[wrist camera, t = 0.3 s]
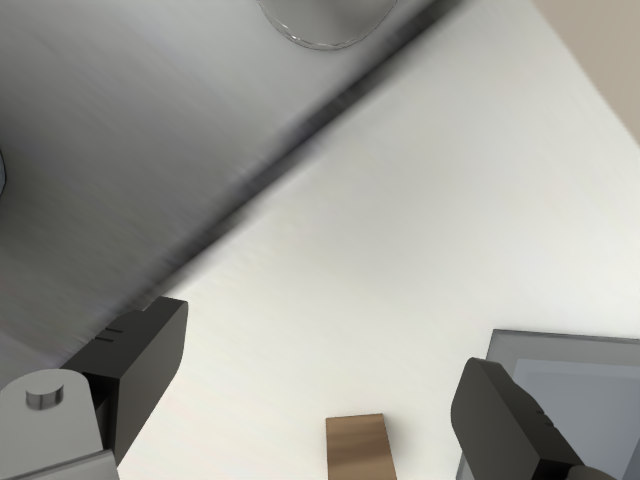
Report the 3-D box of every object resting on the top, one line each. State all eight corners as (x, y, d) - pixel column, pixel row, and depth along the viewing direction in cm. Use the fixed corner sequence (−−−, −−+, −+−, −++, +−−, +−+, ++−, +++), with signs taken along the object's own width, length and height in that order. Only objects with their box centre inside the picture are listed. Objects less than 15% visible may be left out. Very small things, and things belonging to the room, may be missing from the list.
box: (493, 329, 32) (517, 358, 28) (680, 342, 33) (729, 372, 29) (455, 478, 37) (472, 520, 33) (619, 486, 38) (653, 529, 34)
